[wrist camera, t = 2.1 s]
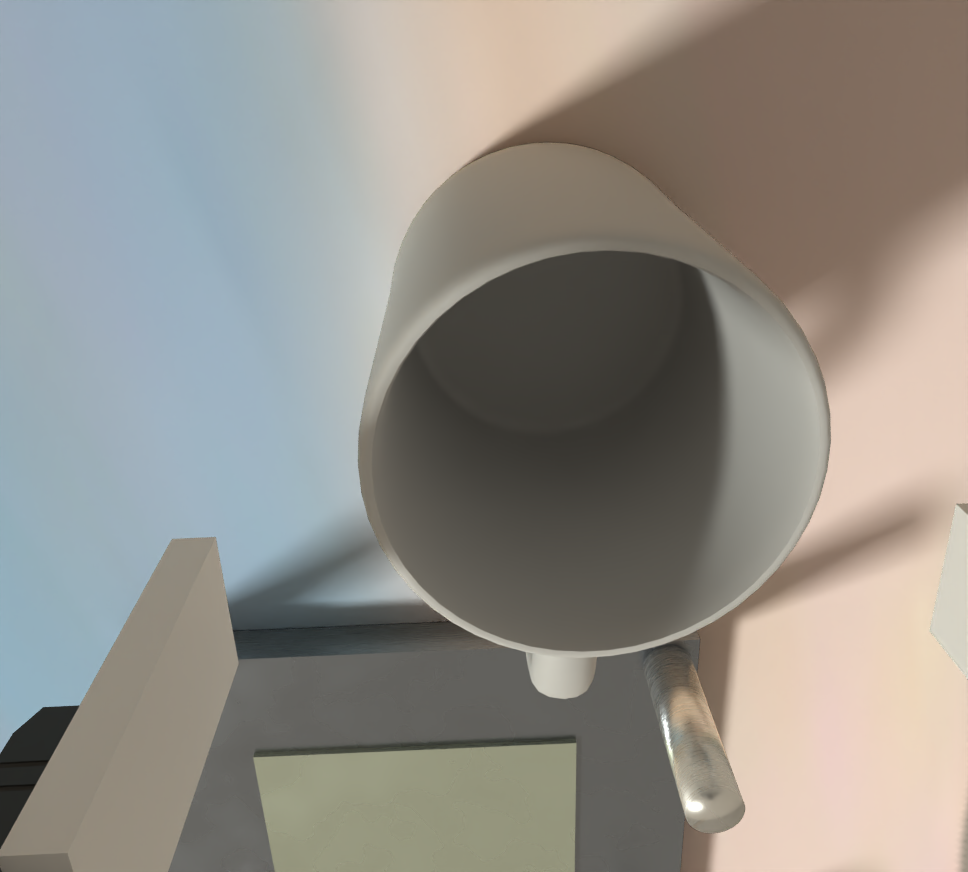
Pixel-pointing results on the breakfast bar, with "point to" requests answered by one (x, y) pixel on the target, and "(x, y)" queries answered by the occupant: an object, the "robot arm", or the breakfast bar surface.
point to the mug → (583, 414)
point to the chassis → (452, 759)
